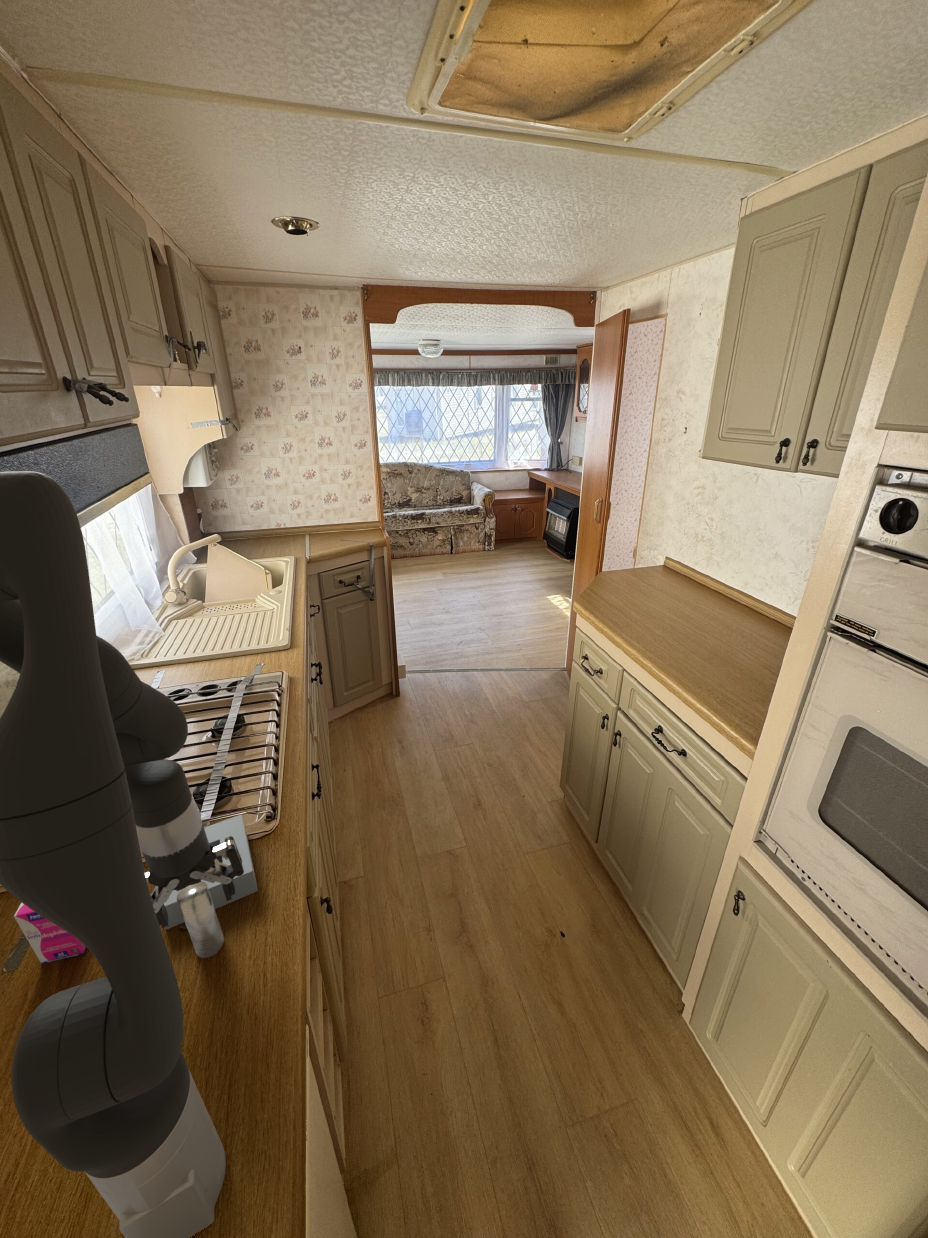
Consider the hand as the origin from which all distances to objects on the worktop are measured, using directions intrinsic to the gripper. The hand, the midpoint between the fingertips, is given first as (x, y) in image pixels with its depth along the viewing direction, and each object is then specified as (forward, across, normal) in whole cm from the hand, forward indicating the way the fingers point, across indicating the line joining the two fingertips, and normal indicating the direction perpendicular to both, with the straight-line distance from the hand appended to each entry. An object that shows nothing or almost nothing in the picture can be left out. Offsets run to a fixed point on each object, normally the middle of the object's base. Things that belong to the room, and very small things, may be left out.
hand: (198, 908), depth 75 cm
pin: (+8, 0, 0) cm, 8 cm away
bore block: (+8, +1, +12) cm, 15 cm away
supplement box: (+8, -19, +10) cm, 23 cm away
